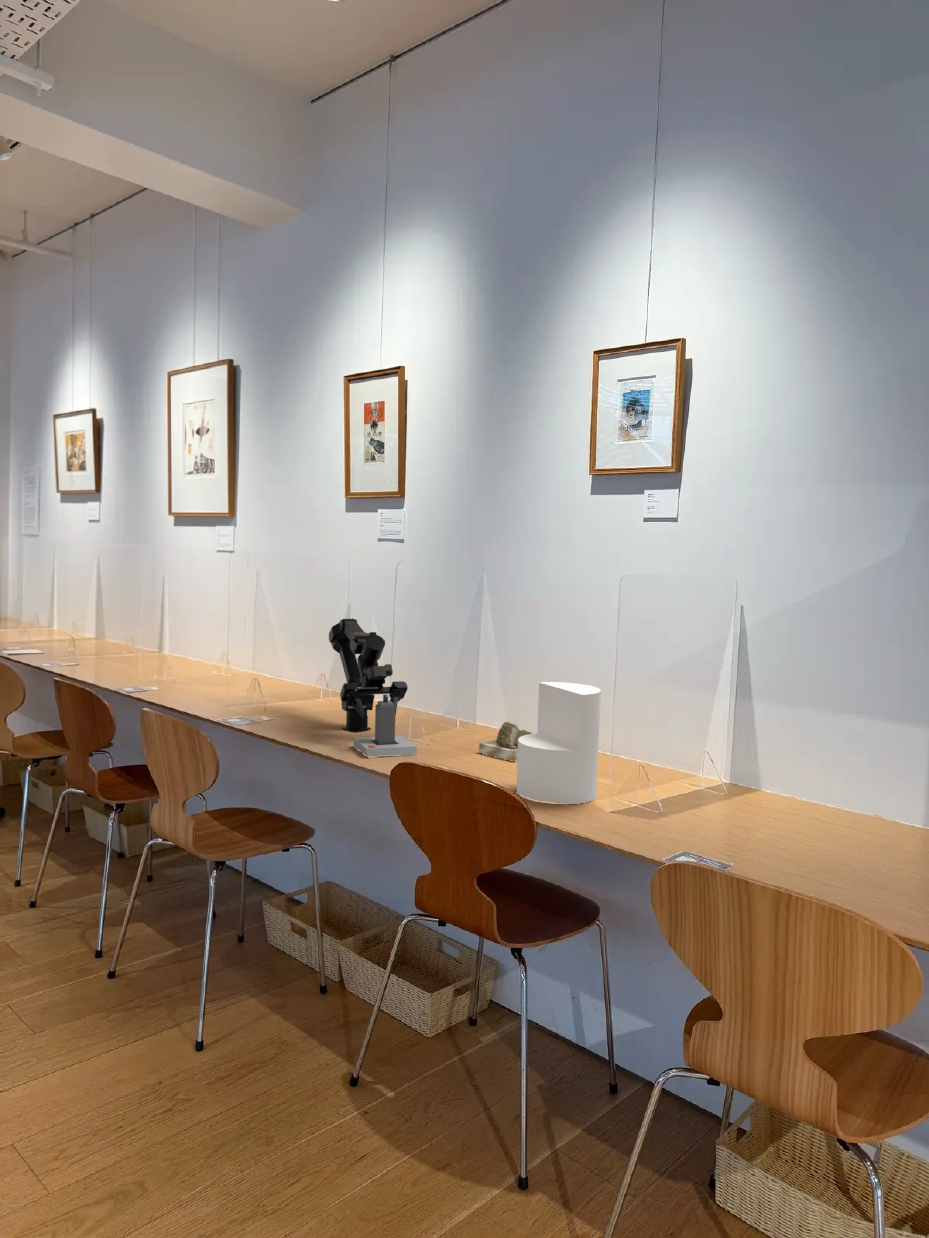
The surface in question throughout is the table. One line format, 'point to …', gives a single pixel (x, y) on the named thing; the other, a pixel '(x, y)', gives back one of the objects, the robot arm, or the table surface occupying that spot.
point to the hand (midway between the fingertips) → (379, 715)
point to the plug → (385, 722)
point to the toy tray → (498, 750)
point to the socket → (385, 747)
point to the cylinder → (562, 745)
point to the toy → (510, 735)
